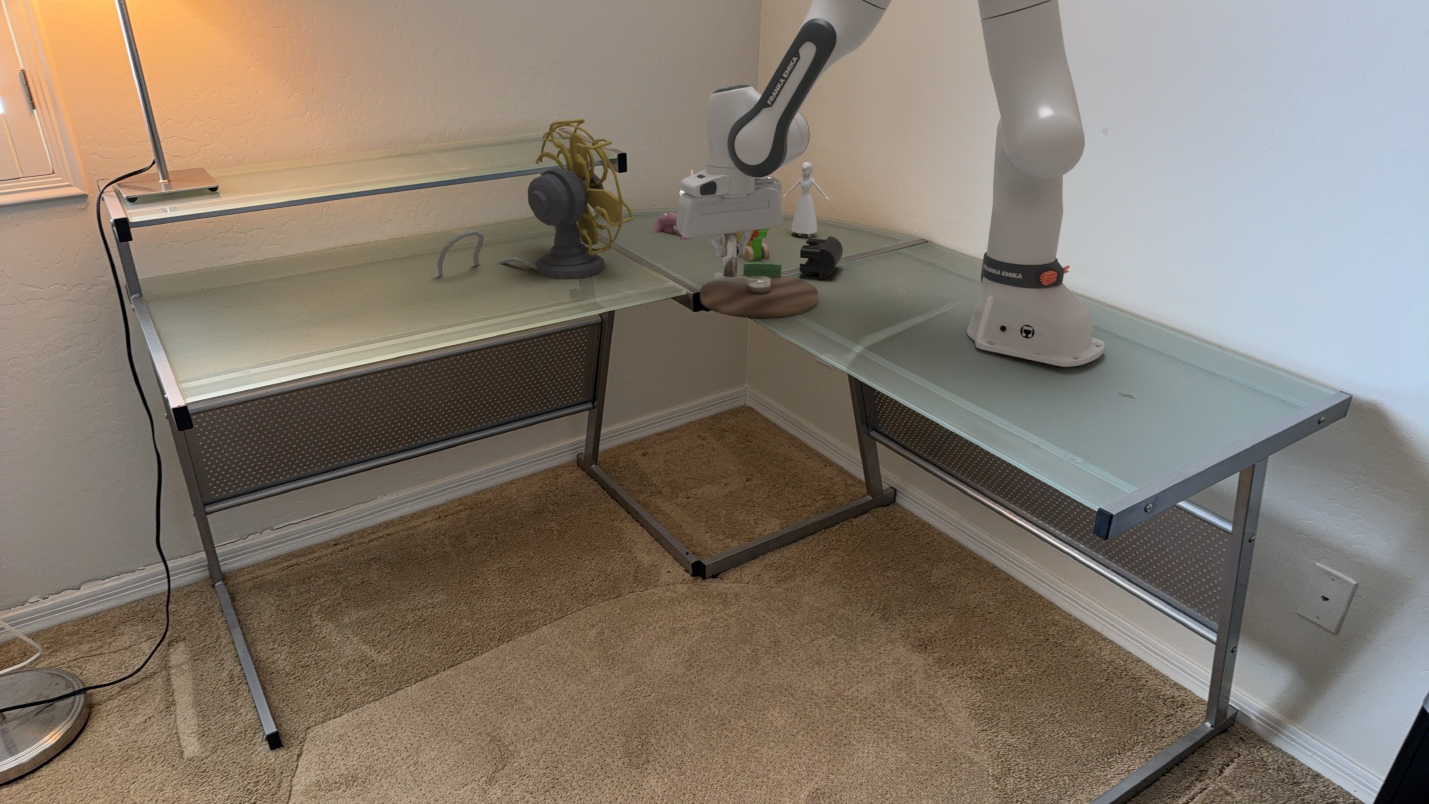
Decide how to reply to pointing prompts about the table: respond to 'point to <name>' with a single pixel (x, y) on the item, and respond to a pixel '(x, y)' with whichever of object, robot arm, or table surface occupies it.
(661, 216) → the video game controller
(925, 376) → the table surface
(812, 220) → the woman figurine
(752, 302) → the dial plate
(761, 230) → the toy lion
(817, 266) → the end cap
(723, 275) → the metal lever handle
